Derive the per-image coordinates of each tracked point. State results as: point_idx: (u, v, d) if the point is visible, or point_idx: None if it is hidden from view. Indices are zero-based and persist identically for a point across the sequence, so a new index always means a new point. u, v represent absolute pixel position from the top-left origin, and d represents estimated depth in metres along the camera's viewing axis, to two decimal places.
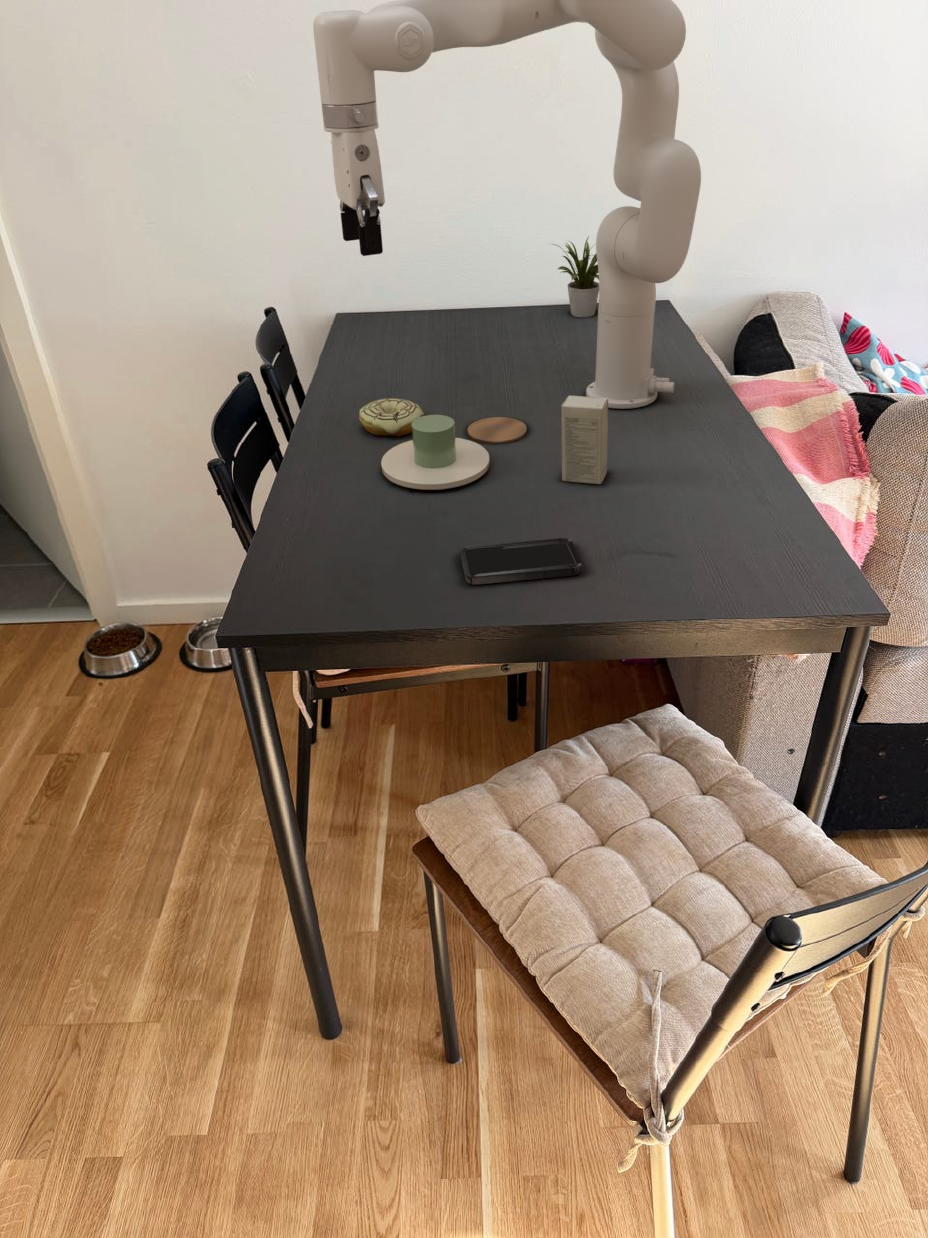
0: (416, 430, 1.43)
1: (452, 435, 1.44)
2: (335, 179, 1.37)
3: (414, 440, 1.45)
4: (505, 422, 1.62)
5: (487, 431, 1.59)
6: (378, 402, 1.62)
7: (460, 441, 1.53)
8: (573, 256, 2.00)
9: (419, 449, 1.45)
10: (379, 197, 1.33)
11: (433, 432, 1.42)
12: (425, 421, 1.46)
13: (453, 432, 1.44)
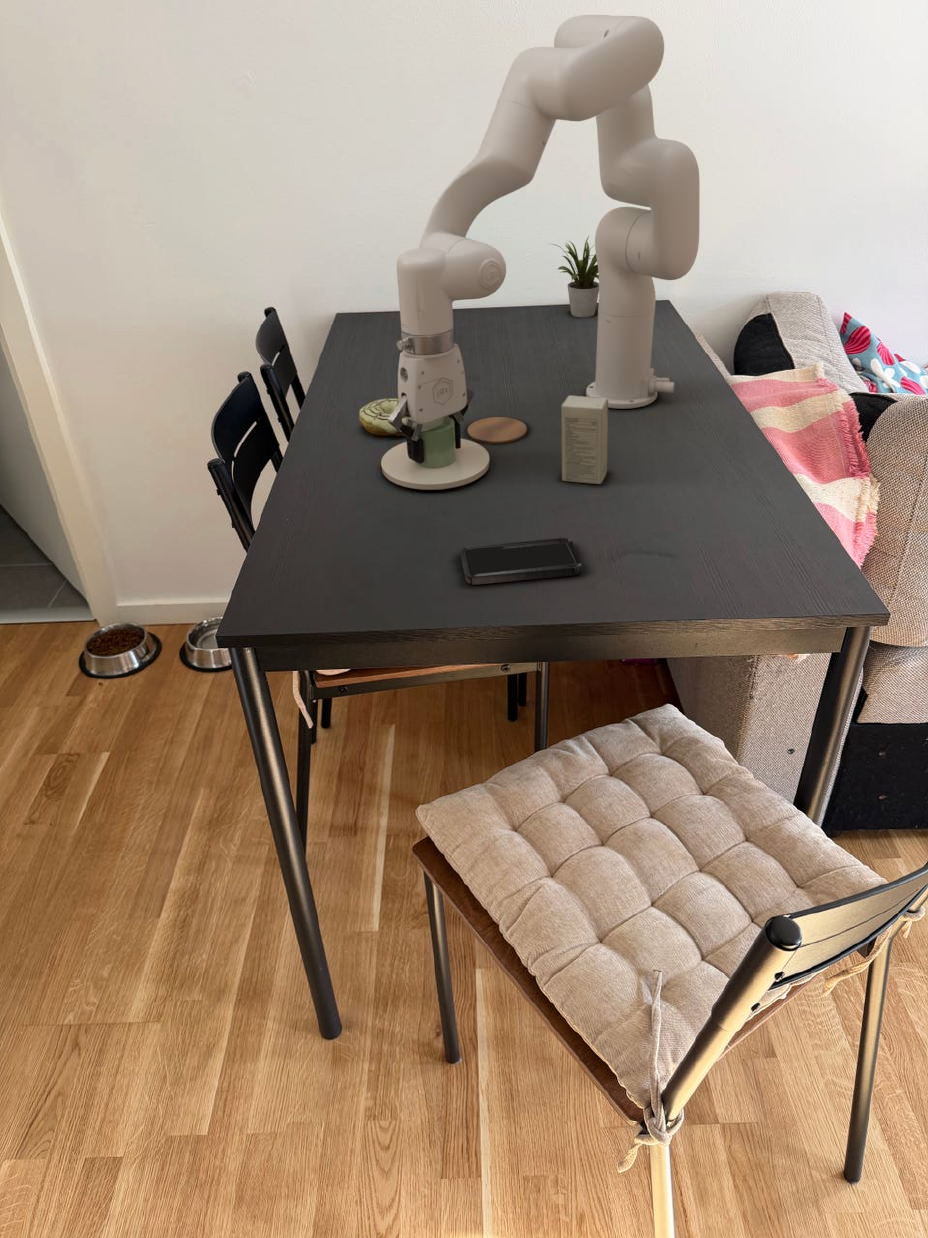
0: None
1: (452, 435, 1.44)
2: None
3: None
4: (505, 422, 1.62)
5: (487, 431, 1.59)
6: (378, 402, 1.62)
7: None
8: (573, 256, 2.00)
9: None
10: (412, 416, 1.39)
11: (433, 432, 1.42)
12: None
13: (453, 432, 1.44)
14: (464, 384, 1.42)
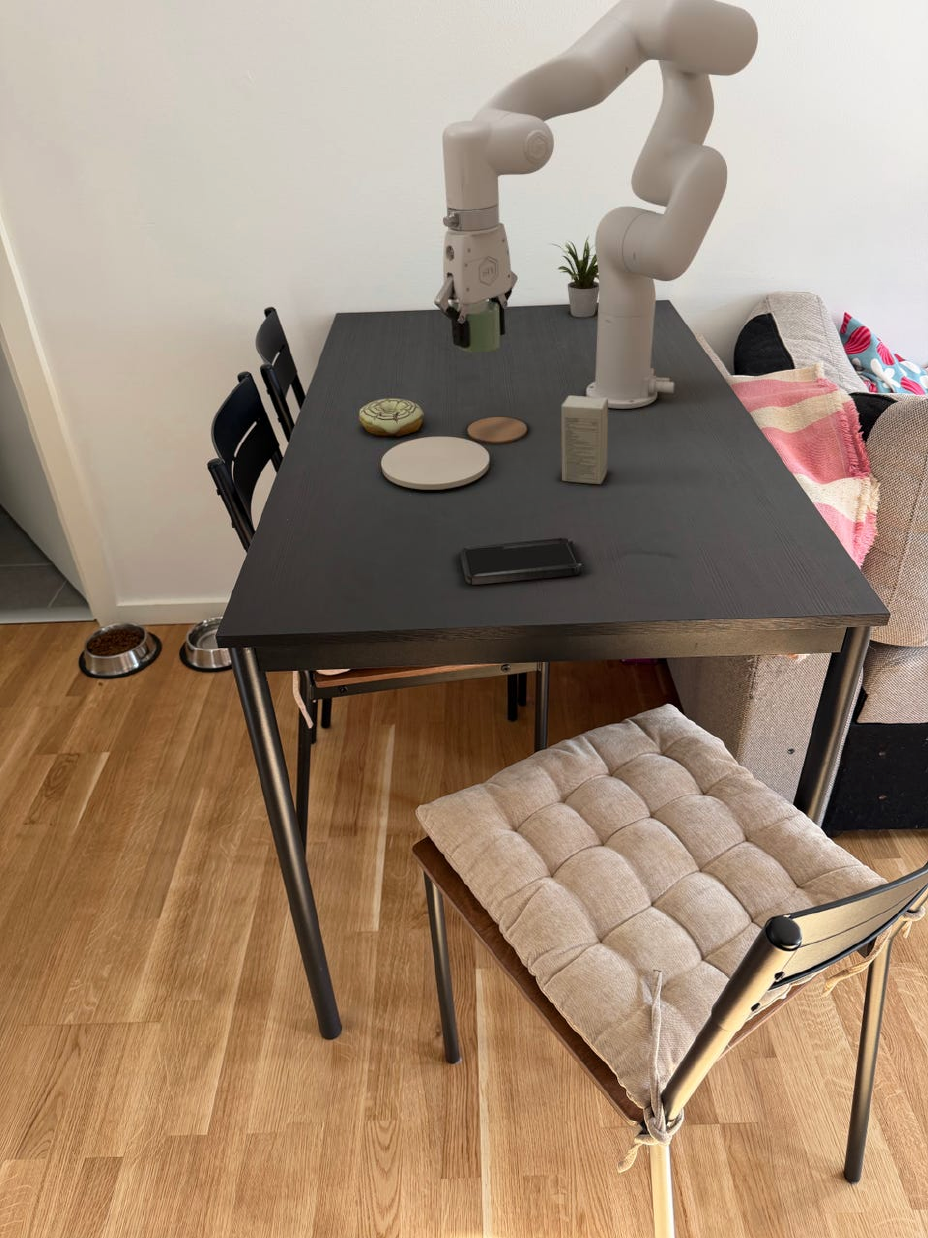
0: None
1: (497, 319, 1.44)
2: None
3: None
4: (505, 422, 1.62)
5: (487, 431, 1.59)
6: (378, 402, 1.62)
7: (460, 441, 1.53)
8: (573, 256, 2.00)
9: None
10: (459, 296, 1.39)
11: (479, 314, 1.42)
12: (469, 305, 1.45)
13: (498, 315, 1.44)
14: (509, 265, 1.42)
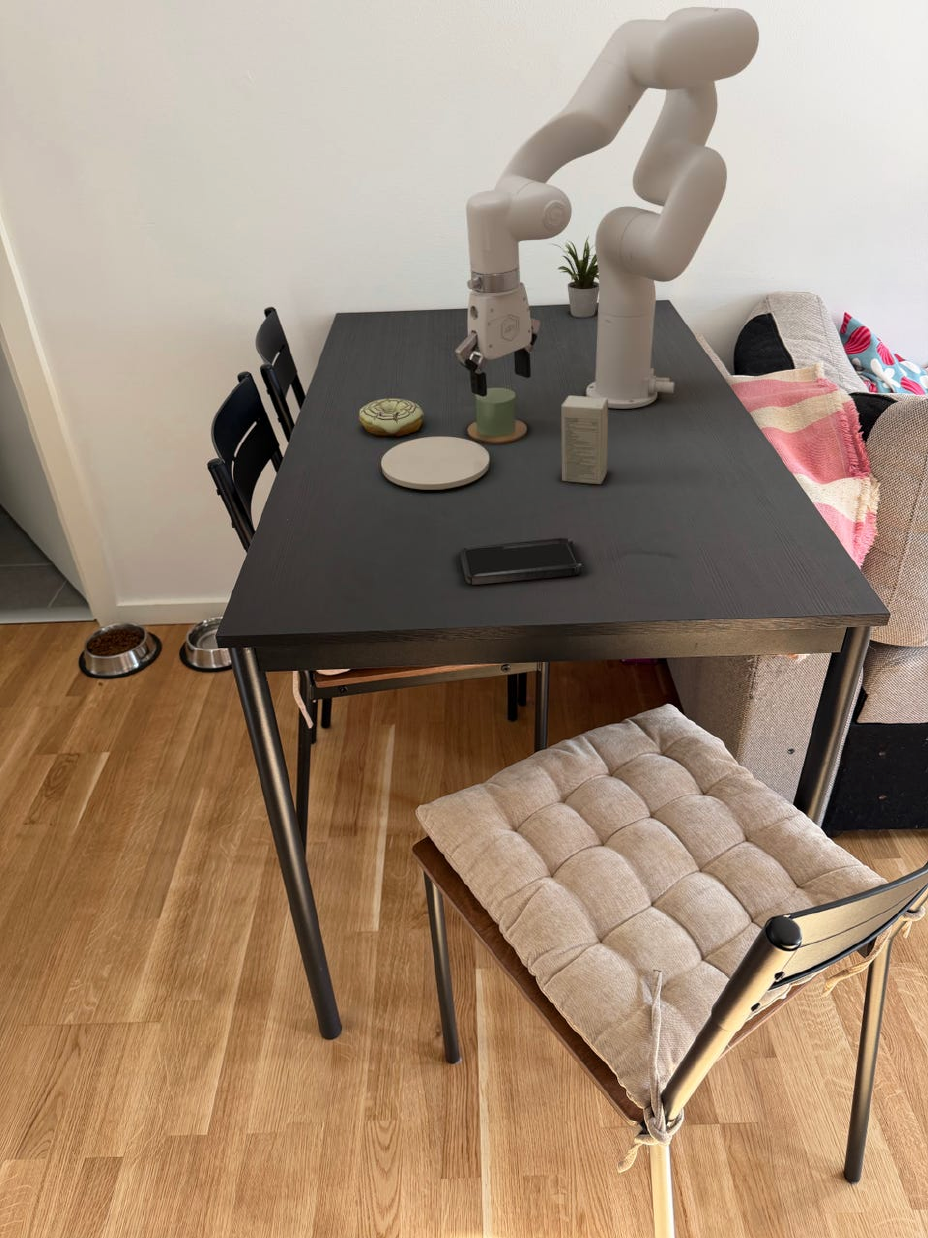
0: (481, 401, 1.54)
1: (513, 406, 1.56)
2: None
3: (478, 411, 1.56)
4: None
5: None
6: (378, 402, 1.62)
7: (460, 441, 1.53)
8: (573, 256, 2.00)
9: (482, 418, 1.56)
10: (482, 352, 1.48)
11: (497, 403, 1.54)
12: (488, 393, 1.57)
13: (514, 403, 1.56)
14: (529, 321, 1.50)
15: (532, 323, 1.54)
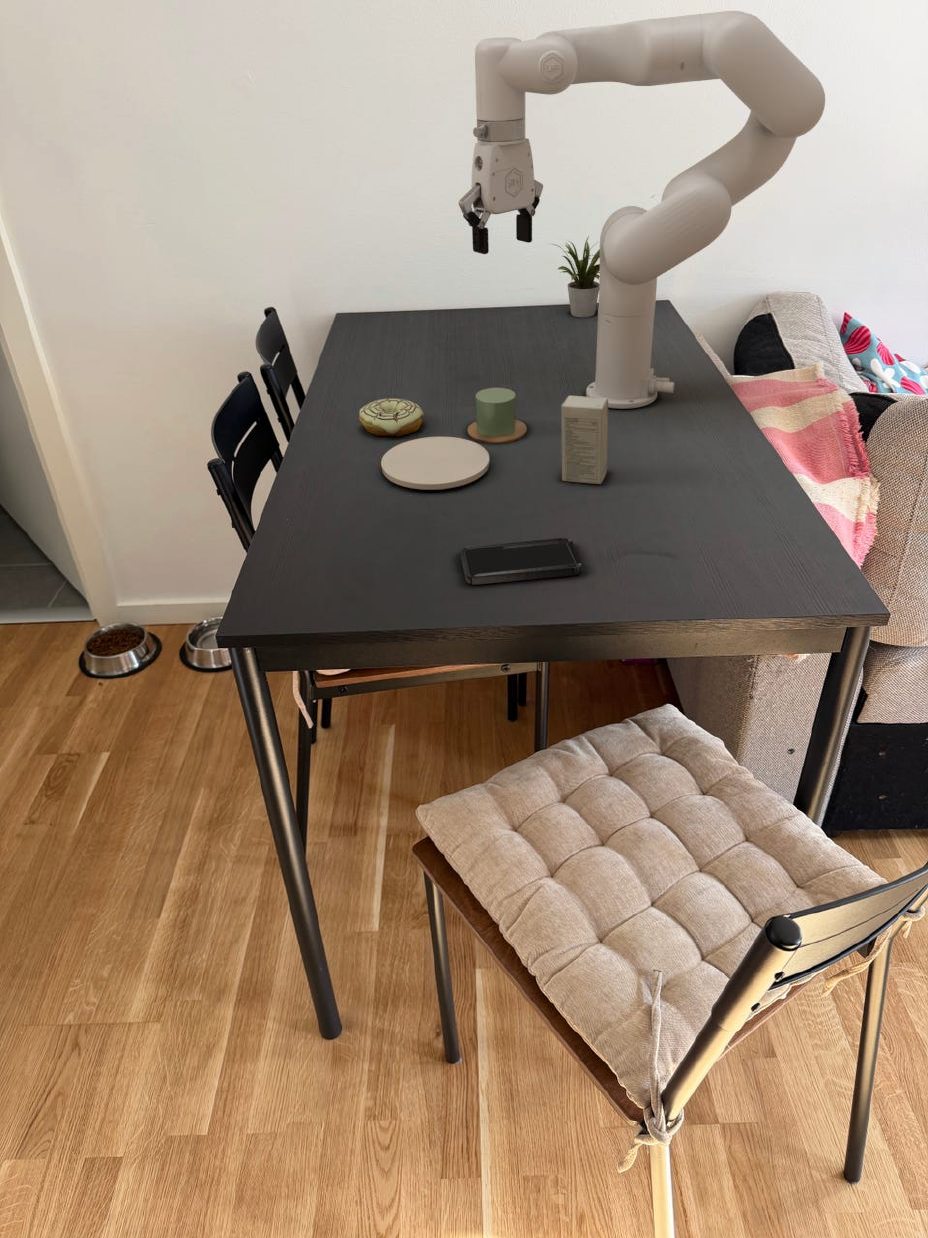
0: (481, 401, 1.54)
1: (513, 406, 1.56)
2: None
3: (478, 411, 1.56)
4: None
5: None
6: (378, 402, 1.62)
7: (460, 441, 1.53)
8: (573, 256, 2.00)
9: (482, 418, 1.56)
10: (486, 205, 1.48)
11: (497, 403, 1.54)
12: (488, 393, 1.57)
13: (514, 403, 1.56)
14: (533, 179, 1.51)
15: (535, 185, 1.55)
